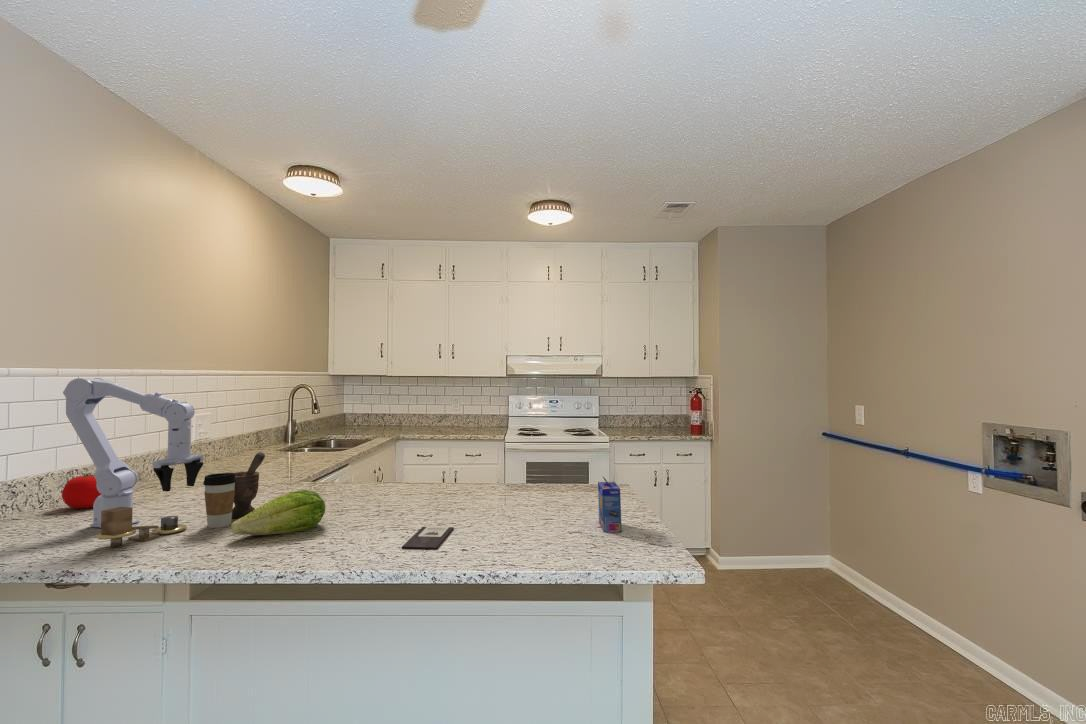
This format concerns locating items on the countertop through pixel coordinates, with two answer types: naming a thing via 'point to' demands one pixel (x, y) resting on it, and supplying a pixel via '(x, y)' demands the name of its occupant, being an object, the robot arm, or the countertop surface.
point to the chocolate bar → (428, 538)
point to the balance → (146, 531)
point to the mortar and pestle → (246, 488)
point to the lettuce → (283, 515)
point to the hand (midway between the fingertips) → (178, 488)
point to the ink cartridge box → (609, 506)
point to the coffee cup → (219, 498)
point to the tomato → (81, 492)
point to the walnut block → (116, 521)
